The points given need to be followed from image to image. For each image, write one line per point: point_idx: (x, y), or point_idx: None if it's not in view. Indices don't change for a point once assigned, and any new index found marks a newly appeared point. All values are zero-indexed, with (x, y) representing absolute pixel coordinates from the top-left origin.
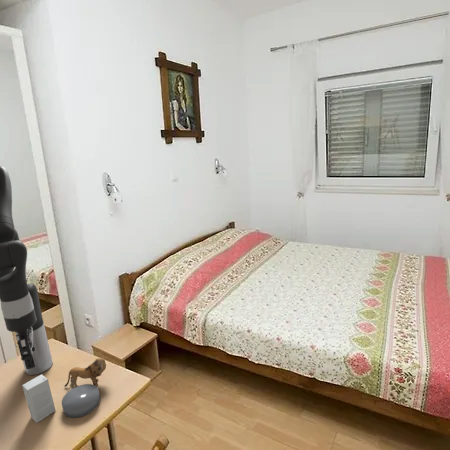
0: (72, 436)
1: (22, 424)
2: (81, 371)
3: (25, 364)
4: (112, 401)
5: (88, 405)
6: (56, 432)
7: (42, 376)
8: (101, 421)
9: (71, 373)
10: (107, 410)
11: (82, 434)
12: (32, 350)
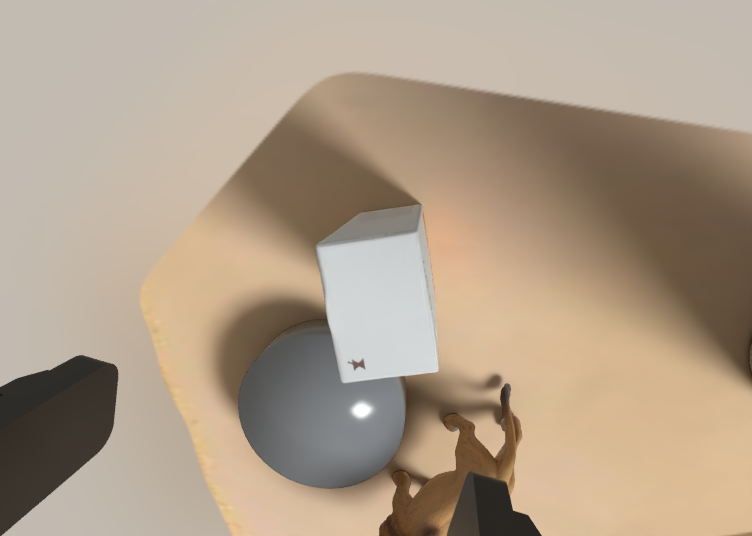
0: (180, 300)
1: (403, 160)
2: (439, 506)
3: (21, 389)
4: (255, 476)
5: (241, 414)
6: (243, 261)
7: (398, 368)
8: (181, 404)
9: (478, 464)
10: (221, 442)
11: (165, 330)
12: (453, 534)
